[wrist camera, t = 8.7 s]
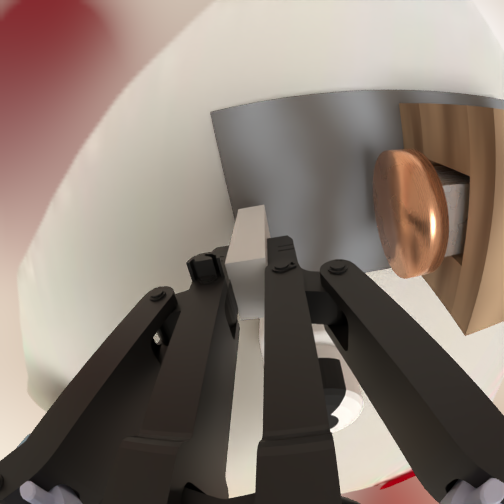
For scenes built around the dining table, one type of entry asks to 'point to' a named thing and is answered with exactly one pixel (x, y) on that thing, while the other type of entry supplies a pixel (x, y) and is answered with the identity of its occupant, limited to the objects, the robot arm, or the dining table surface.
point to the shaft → (419, 211)
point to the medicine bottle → (332, 380)
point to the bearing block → (371, 179)
